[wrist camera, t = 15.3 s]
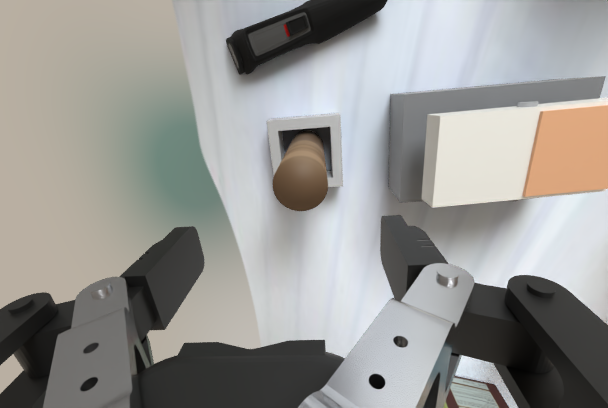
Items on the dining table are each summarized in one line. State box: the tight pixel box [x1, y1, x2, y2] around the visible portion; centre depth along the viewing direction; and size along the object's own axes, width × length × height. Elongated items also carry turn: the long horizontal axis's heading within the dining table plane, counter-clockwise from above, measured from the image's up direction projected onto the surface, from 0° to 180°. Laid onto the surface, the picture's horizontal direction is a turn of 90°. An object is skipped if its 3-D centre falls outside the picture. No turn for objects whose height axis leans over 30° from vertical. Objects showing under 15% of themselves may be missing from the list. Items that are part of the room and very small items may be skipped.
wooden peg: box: [273, 130, 328, 211], centre depth 25 cm, size 4×4×14 cm
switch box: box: [388, 76, 606, 202], centre depth 27 cm, size 10×16×7 cm, turn 95°
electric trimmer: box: [226, 0, 387, 74], centre depth 26 cm, size 4×16×3 cm, turn 109°
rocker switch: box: [421, 98, 608, 208], centre depth 22 cm, size 8×14×2 cm, turn 95°
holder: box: [267, 113, 343, 187], centre depth 30 cm, size 7×7×3 cm
